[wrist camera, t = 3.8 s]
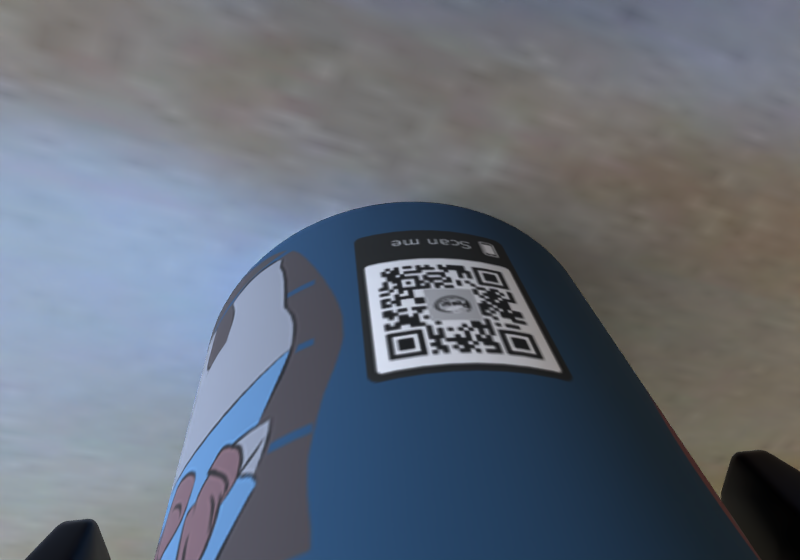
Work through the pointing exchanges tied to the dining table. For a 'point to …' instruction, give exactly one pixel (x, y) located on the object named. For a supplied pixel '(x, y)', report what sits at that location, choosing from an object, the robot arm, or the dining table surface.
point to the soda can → (428, 410)
